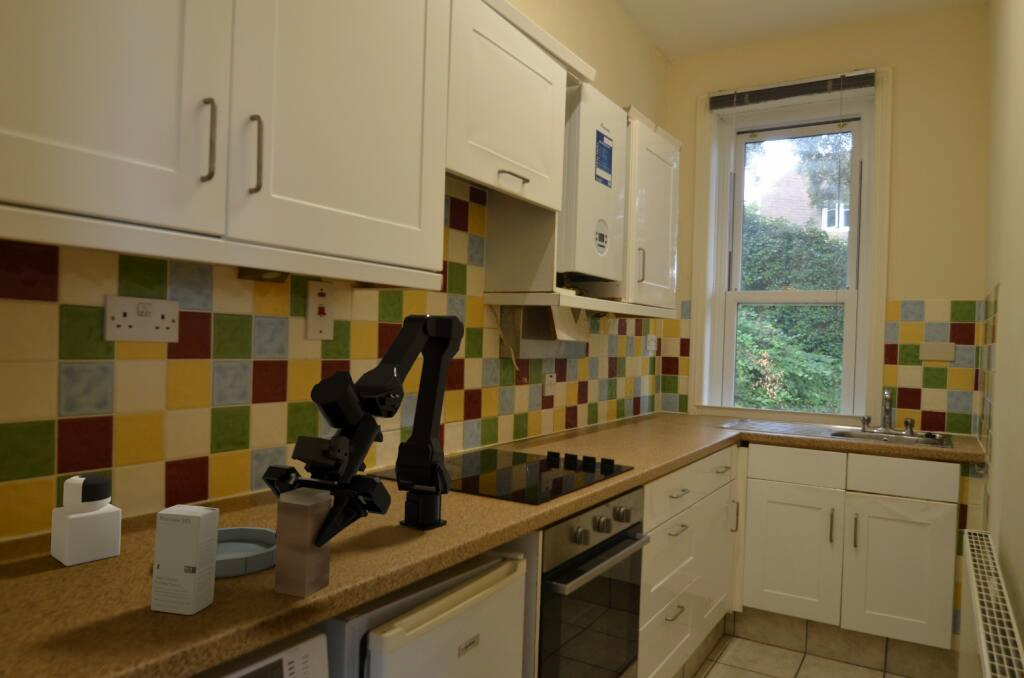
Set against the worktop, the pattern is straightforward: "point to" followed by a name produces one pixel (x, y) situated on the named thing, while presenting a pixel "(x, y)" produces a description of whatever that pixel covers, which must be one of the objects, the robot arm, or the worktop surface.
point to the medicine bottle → (86, 521)
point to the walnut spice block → (301, 542)
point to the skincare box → (184, 559)
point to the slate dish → (244, 550)
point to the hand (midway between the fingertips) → (297, 542)
